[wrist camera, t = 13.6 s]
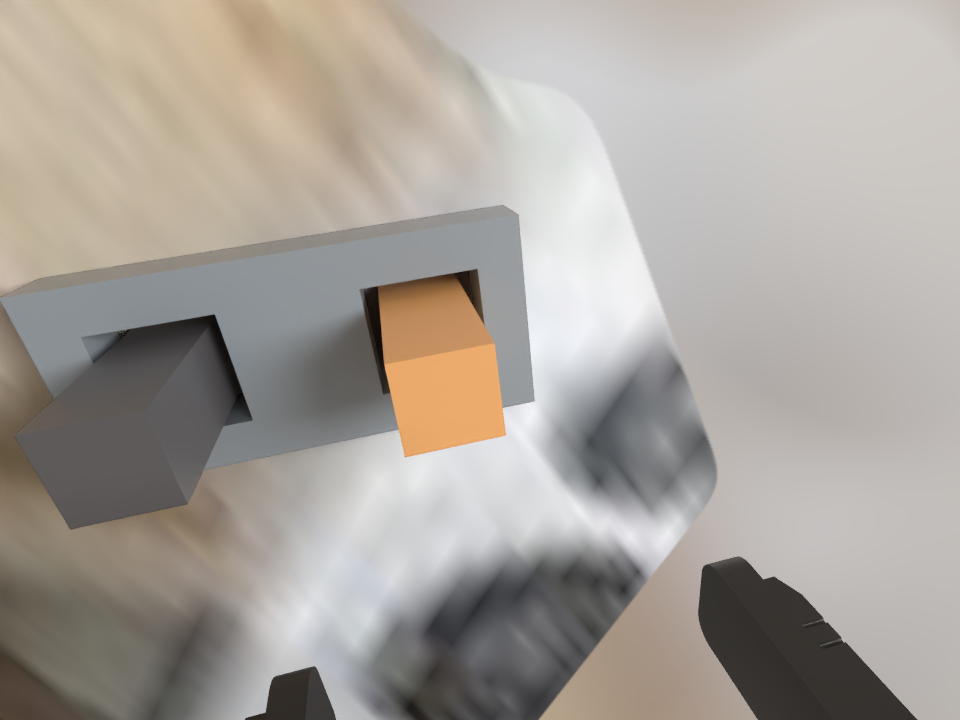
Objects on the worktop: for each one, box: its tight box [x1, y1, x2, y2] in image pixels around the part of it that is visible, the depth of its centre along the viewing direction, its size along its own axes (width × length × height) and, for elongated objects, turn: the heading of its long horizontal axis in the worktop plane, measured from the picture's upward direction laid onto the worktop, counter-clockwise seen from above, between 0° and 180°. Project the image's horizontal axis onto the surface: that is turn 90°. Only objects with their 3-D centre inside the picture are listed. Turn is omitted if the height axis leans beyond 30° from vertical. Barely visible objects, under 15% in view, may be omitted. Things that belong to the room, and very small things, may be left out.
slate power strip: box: [0, 205, 534, 529], centre depth 23 cm, size 22×10×10 cm, turn 97°
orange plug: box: [378, 273, 506, 457], centre depth 24 cm, size 4×4×10 cm
